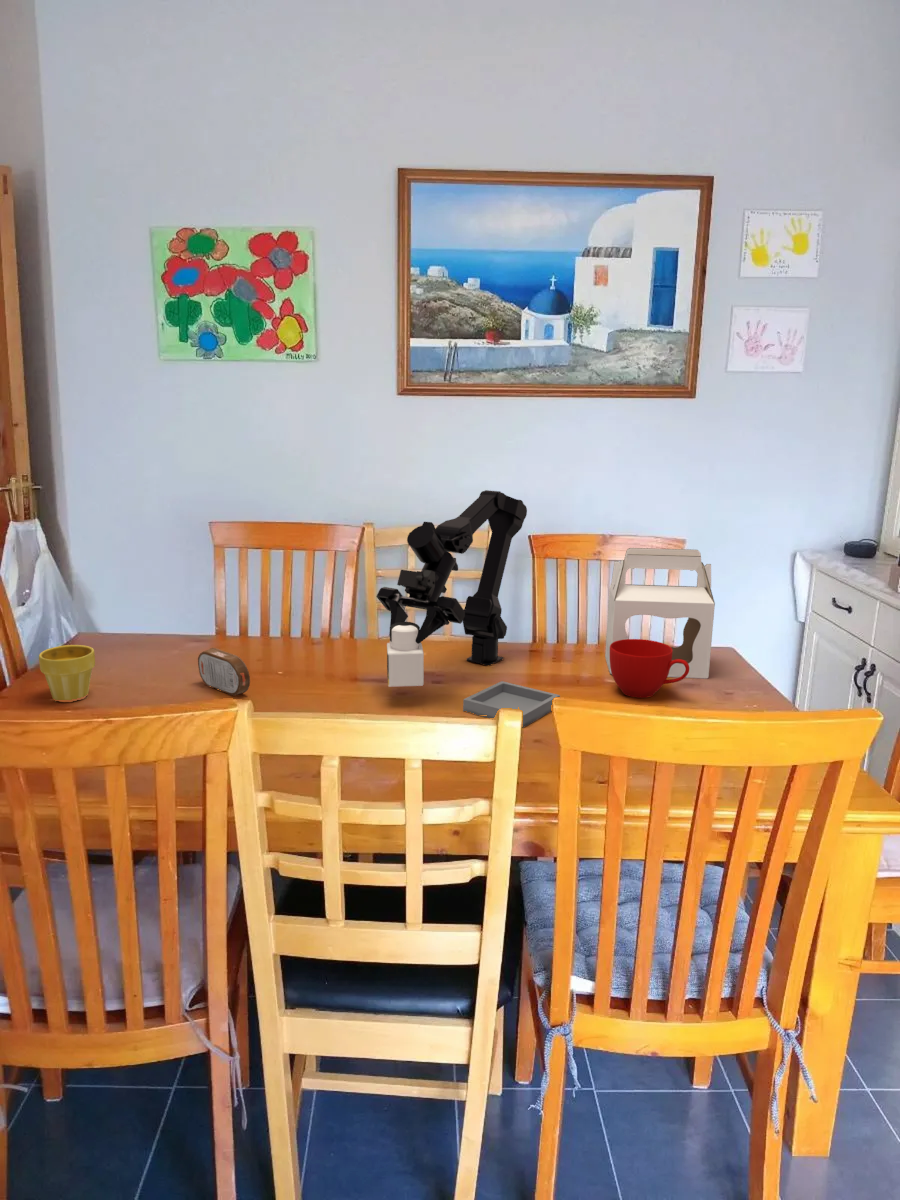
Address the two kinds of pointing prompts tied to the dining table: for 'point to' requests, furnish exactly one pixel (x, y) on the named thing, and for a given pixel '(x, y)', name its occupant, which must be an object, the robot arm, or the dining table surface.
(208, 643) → the dining table surface
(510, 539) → the robot arm
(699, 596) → the gable box
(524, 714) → the slate tray
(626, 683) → the ceramic cup
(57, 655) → the plant pot
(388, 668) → the medicine bottle
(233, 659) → the tin
